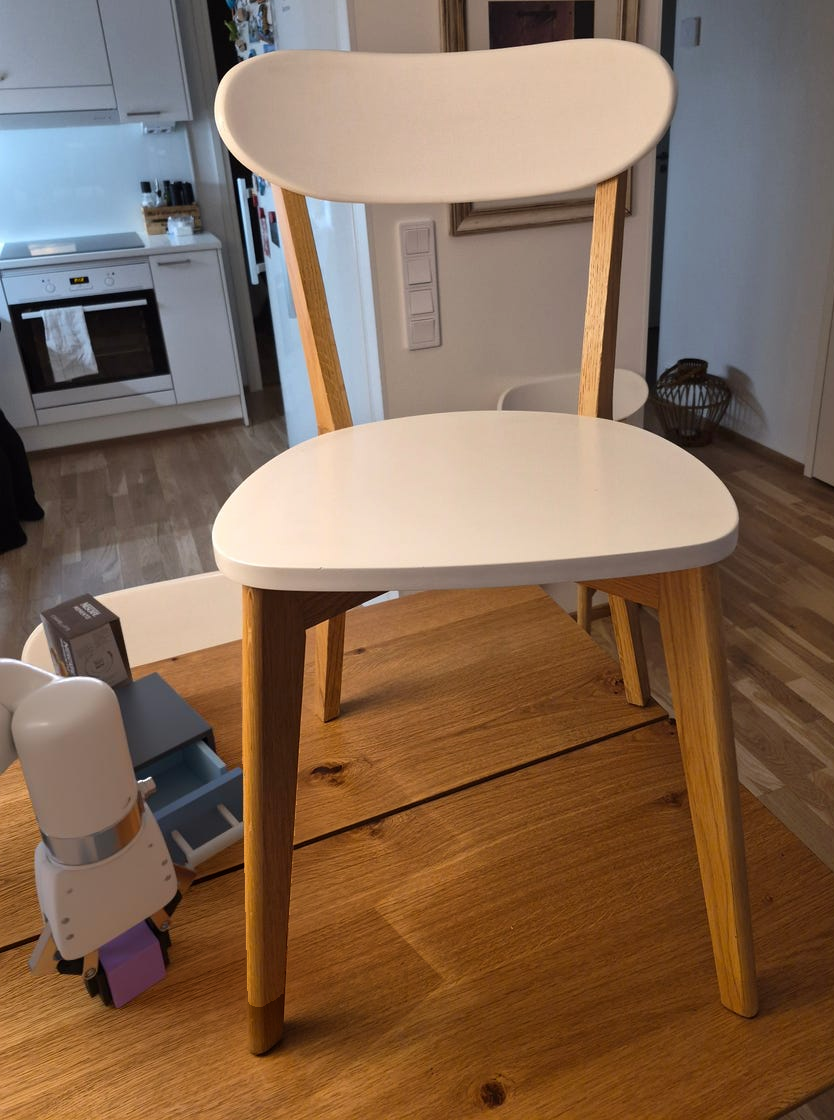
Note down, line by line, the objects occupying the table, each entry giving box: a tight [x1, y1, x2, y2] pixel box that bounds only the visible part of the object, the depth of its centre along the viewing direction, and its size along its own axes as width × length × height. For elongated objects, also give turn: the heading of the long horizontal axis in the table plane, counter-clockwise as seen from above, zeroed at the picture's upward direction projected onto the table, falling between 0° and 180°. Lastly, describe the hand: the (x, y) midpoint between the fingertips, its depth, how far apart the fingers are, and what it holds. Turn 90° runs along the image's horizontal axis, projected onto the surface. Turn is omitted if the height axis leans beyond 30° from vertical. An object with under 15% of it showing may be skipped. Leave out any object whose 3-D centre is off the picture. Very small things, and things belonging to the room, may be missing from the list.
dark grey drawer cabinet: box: [113, 671, 218, 773], centre depth 97 cm, size 15×13×9 cm
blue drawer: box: [134, 740, 245, 869], centre depth 90 cm, size 19×11×7 cm, turn 44°
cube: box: [99, 920, 167, 1010], centre depth 76 cm, size 4×4×4 cm
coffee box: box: [39, 592, 134, 690], centre depth 106 cm, size 9×6×16 cm
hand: (131, 972), depth 77 cm, fingers closed on cube, 4 cm apart
